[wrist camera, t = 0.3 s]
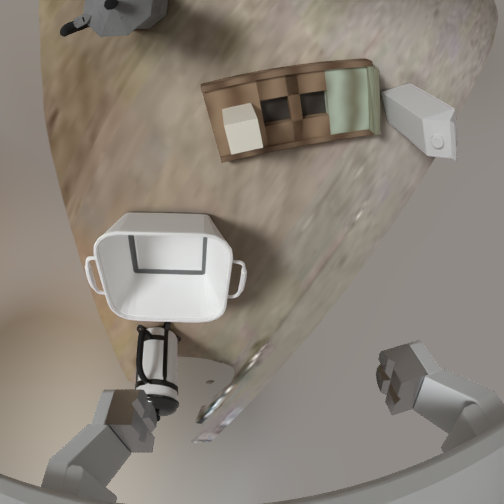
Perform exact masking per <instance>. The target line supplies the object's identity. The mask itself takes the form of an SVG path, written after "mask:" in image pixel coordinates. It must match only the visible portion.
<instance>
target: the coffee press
mask: <svg viewBox="0 0 504 504" xmlns="http://www.w3.org/2000/svg"><path fill="white" fill-rule="evenodd" d="M169 327H170V322H165V324H164V326H163V328H160V327H153V328H148V329H144V328H143V327H142V326H141V325H139V326H138V327H137V331H138V332H139V337H138V346H137V358H136V366H137V372H136V384H135V389H141V390H144V391H145V393H146V394H147V401H149V402H150V403H152V404H153V406H154V408H155V411H156V417H157V421H159V420H160V416H167V415H171V414H173V413H174V412H175V411H176V409H177V408H178V406H179V402H178V401H177V395H178V387H177V344H178V343H177V339H178V340H179V341H180V340H181V338H180V337H176V335H175V334H174V333H173V332H172V331H170V330H169ZM139 328H141V331H140V329H139Z"/></svg>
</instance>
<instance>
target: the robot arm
mask: <svg viewBox="0 0 504 504" xmlns="http://www.w3.org/2000/svg"><path fill="white" fill-rule="evenodd" d="M379 361H380V363H381V364H380V365H379V366H378V368H377V372H376V378H377V384H378V387H379V389H380V391H381V392H382V393H383V394H385V395H387V397H386V401H385V402H386V404H387V406H388V408H389V410H390V412H391V415H394V414H398V413H401V412H404V411H407V410H410V409H413V410H414V411H416V412H417V413H419V414H420V415H421V416H423V417H424V418H426V419H427V420H429V421H430V422H432V423H433V424H435V425H436V426H438V427H439V428H441V429H442V430H444V431H445V432H447V433H448V434H449V435H448V436H447V438H446V440H445V441H444V443H443V444H442V447H441V449H442V451H443V453H442V454H440V455H438V456H435V457H434V458H431V459H429V460H426V461H424V462H421V463H419V464H417V465H414V466H412V467H409V468H406V469H404V470H401V471H398V472H396V473H393V474H390V475H387V476H384V477H381V478H378V479H375V480H372V481H368V482H365V483H362V484H358V485H355V486H351V487H347V488H344V489H340V490H336V491H332V492H327V493H323V494H318V495H313V496H308V497H303V498H298V499H292V500H286V501H279V502H272V503H264V504H504V404H503V402H502V401H501V399H500V398H499V396H498V395H497V393H496V392H495V391H493V390H491V389H488V388H486V387H484V386H482V385H480V384H478V383H475V382H473V381H471V380H469V379H467V378H464V377H462V376H460V375H458V374H455V373H453V372H451V371H449V370H447V369H442V370H441V368H440V367H439V366H438V364H437V363H436V362H435V360H434V359H433V357H432V356H431V354H430V353H429V351H428V350H427V349H426V347H425V346H424V344H423V343H422V342H421V341H420V340H417V341H414V342H411V343H408V344H404V345H400V346H397V347H394V348H391V349H387V350H384V351H381V352H380V354H379ZM156 424H157V417H156V411H155V408H154V406H153V404H152V403H150V402H149V401H147V394H146V393H145V391H144V390H141V389H135V390H104V391H103V392H102V393H101V396H100V399H99V402H98V405H97V409H96V412H95V415H94V418H93V421H92V424H88V425H87V426H86V427H85V428H84V429H82V430H81V431H80V432H79V433H78V434H77V435H76V436H75V437H74V438H73V439H71V440H70V441H69V442H68V443H67V444H66V445H65V446H64V447H63V448H62V449H61V450H59V451H58V452H57V453H56V454H55V455H54V456H53V457H52V458H51V459H50V460H49V462H48V465H47V469H46V472H45V475H44V478H43V482H42V485H41V487H39V486H35V485H32V484H29V483H26V482H22V481H19V480H16V479H13V478H11V477H8V476H5V475H2V474H0V504H123V503H116V500H117V497H116V495H115V494H114V493H112V492H111V491H109V490H108V489H107V488H106V486H107V485H108V483H109V482H110V481H111V479H112V478H113V477H114V476H115V474H116V473H117V472H118V470H119V469H120V468H121V466H122V465H123V464H124V463H125V461H126V460H127V459H128V457H129V456H130V455H131V452H153V445H154V436H153V434H152V433H151V432H152V431H153V430H154V429H155V428H156Z"/></svg>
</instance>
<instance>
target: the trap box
mask: <svg viewBox="0 0 504 504" xmlns="http://www.w3.org/2000/svg"><path fill="white" fill-rule="evenodd" d="M201 90H202V93H203V96H204V100H205V103H206V107H207V111H208V114H209V118H210V122H211V125H212V129H213V132H214V136H215V139H216V143H217V147H218V150H219V154H220V158H221V162H222V163H223V162H227V161H231V160H236V159H240V158H244V157H249V156H253V155H258V154H263V153H267V152H272V151H277V150H282V149H287V148H293V147H298V146H303V145H309V144H315V143H320V142H326V141H332V140H339V139H345V138H352V137H359V136H366V135H374V134H375V135H380V86H379V69H377V68H375V67H373V65H372V61H371V60H368V59H351V60H337V61H326V62H317V63H308V64H300V65H293V66H286V67H280V68H274V69H268V70H262V71H257V72H251V73H246V74H242V75H237V76H232V77H228V78H223V79H219V80H215V81H211V82H207V83H203V84H201ZM247 103H251V104H252V107H253V109H254V111H255V114H256V116H257V119H258V124H259V129H260V134H261V139H262V144H263V148H259V149H254V150H250V151H245V152H241V153H237V154H232V155H231V151H230V147H229V143H228V139H227V136H226V132H225V128H224V122H223V113H222V109H225V108H229V107H234V106H238V105H243V104H247Z"/></svg>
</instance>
